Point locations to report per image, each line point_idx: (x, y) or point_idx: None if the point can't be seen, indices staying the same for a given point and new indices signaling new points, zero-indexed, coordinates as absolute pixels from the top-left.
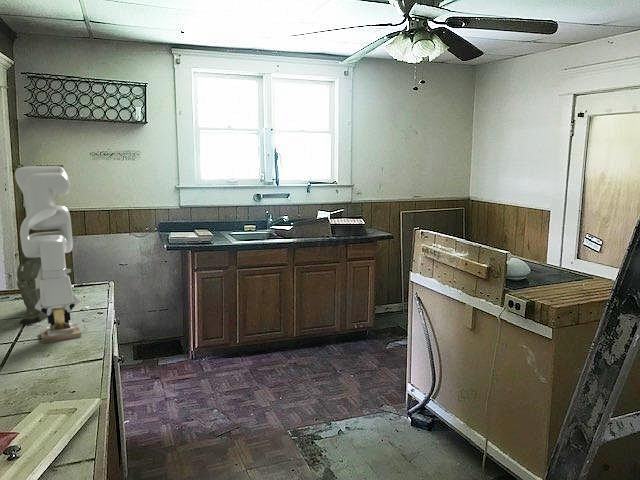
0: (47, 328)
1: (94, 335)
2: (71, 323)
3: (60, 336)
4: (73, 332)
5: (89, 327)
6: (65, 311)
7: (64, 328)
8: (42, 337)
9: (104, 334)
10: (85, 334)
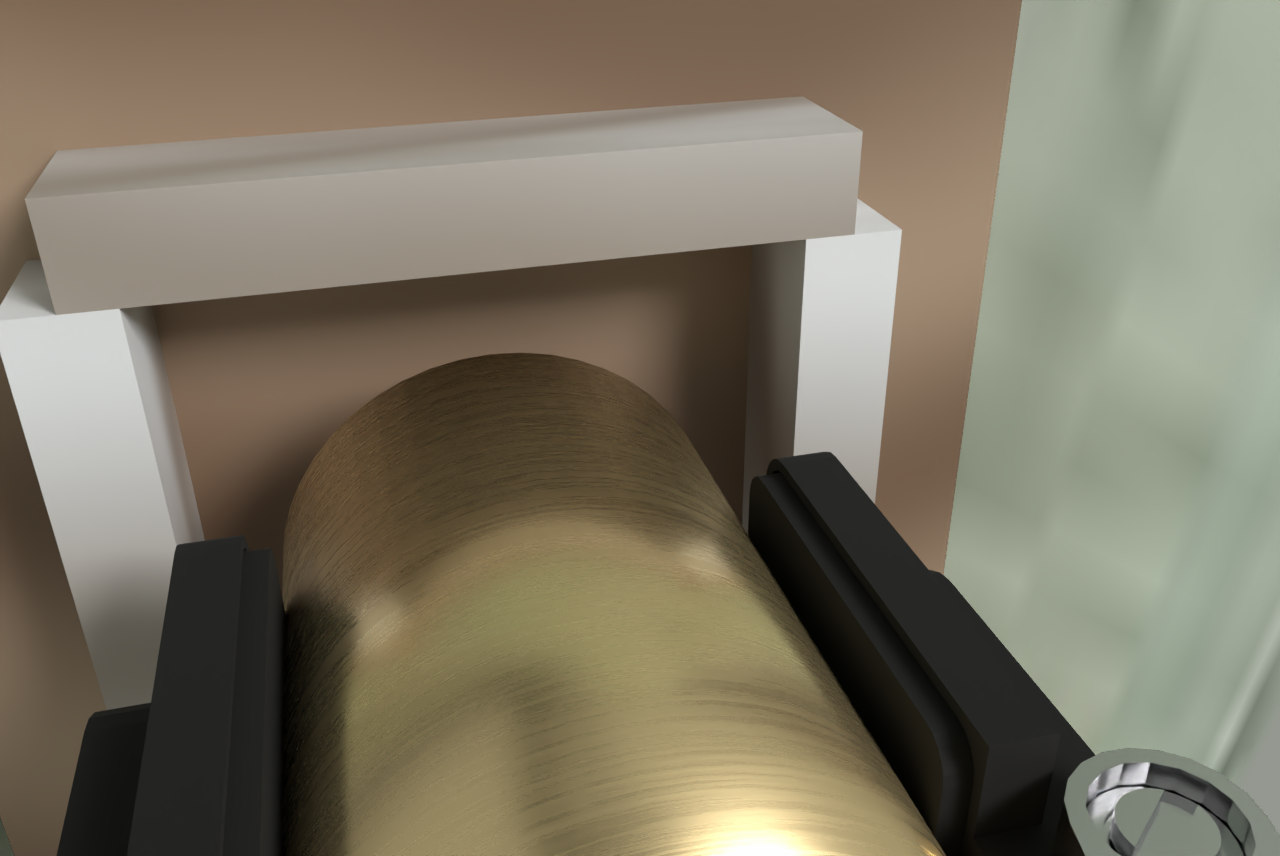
0: (77, 527)
1: (1092, 691)
2: (881, 314)
3: None
4: None
5: (1214, 91)
6: (968, 814)
7: (615, 265)
8: (4, 803)
9: (1240, 697)
10: (978, 576)
